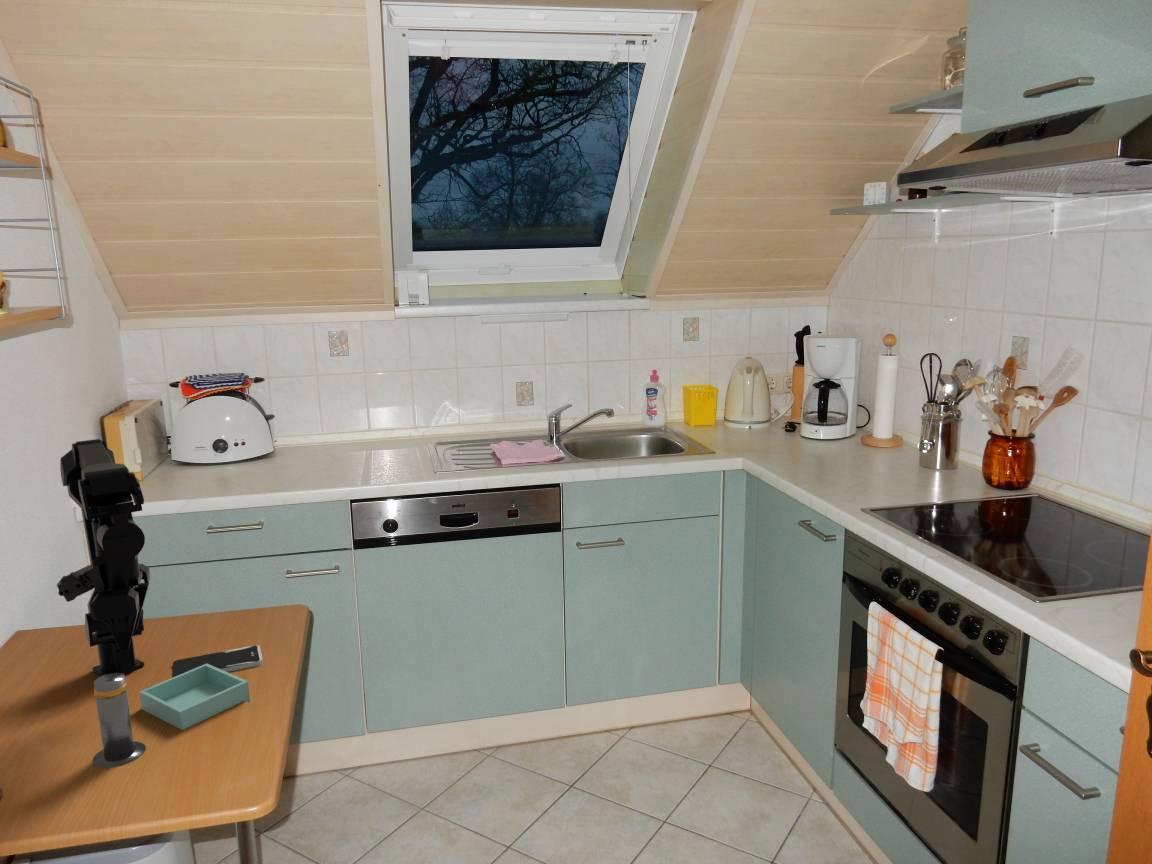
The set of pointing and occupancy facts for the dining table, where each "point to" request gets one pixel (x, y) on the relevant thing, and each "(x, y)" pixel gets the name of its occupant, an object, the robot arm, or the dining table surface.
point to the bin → (194, 696)
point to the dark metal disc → (102, 763)
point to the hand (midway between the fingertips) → (128, 640)
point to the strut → (114, 716)
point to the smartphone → (222, 660)
